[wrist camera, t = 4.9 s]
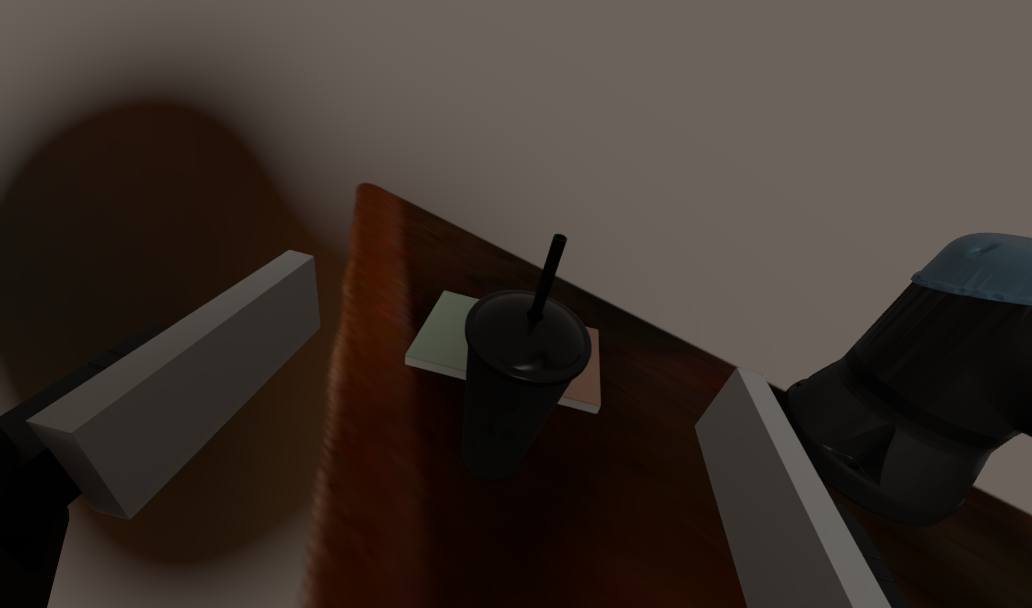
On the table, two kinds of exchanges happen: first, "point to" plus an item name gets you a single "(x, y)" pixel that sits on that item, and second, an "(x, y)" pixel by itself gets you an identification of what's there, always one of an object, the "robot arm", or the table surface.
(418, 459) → the table surface
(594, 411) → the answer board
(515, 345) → the drinking cup
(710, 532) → the table surface
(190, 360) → the robot arm
